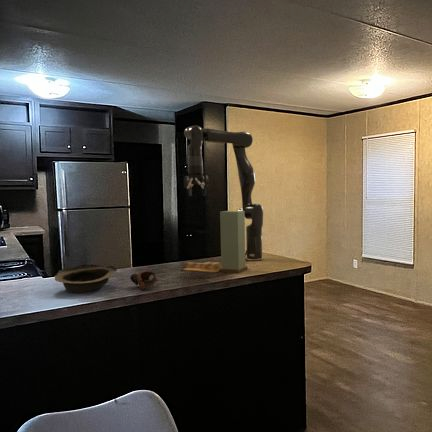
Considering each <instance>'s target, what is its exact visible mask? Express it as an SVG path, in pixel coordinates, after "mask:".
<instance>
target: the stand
mask: <svg viewBox="0 0 432 432" xmlns="http://www.w3.org/2000/svg"><path fill="white" fill-rule="evenodd" d="M245 219H246V218H245V214H244V211H243V210H224V211H219V222H220V224H219V225H220V227H219V228H220V262H221V269H219V272H218V273H226V274H227V273H230V274H240V273H242V272H244V271H247V270H248V269H249V267H248V265H247V266H246V256H245V253H246V223H245V222H246V221H245Z"/></svg>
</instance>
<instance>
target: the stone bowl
mask: <svg viewBox="0 0 432 432" xmlns="http://www.w3.org/2000/svg"><path fill="white" fill-rule="evenodd" d="M116 273H117V267H116V266H114V265H108V266H103V265H99V264H98V265H97V264H93V263H92V264H81V265H79V266H78V265H77V266H69V267H66V268H61V269H59V270H58V272H57V273H56V275H54V281H56V282H58V283H62V285H63V287H64V289H65V291H67V292H69V293H72V294H77V293H88V292H90V291H93V290H96V289H98V288H100V287H102V286H104V285H106V284H107V283H108V282H109V279H110V277H112V276H113V275H115V274H116Z"/></svg>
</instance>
